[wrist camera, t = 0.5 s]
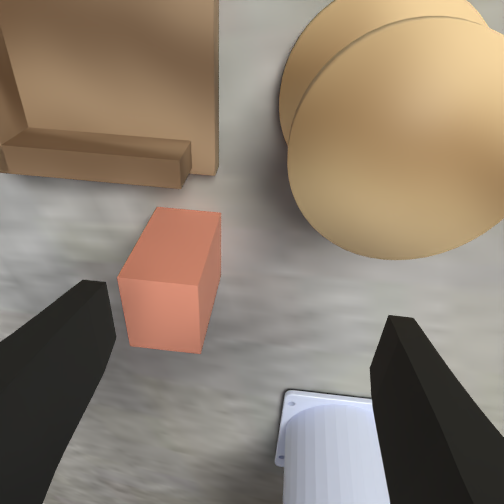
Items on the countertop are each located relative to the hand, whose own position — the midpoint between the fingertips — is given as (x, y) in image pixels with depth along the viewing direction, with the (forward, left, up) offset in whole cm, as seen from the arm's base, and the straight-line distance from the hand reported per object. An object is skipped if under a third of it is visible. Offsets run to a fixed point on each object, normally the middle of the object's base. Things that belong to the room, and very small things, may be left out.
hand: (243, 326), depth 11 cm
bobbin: (+3, -4, -10) cm, 11 cm away
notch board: (+5, +7, -10) cm, 13 cm away
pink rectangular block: (-5, +4, -10) cm, 12 cm away
